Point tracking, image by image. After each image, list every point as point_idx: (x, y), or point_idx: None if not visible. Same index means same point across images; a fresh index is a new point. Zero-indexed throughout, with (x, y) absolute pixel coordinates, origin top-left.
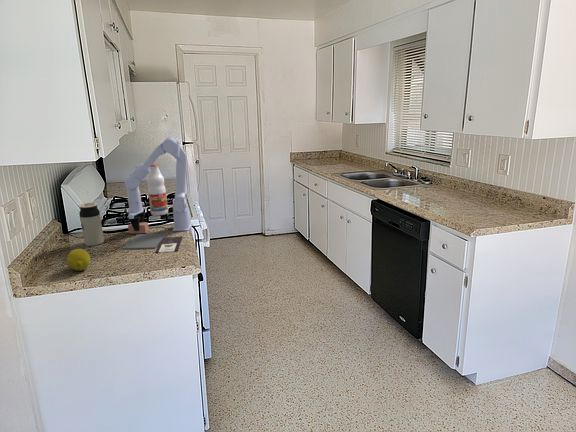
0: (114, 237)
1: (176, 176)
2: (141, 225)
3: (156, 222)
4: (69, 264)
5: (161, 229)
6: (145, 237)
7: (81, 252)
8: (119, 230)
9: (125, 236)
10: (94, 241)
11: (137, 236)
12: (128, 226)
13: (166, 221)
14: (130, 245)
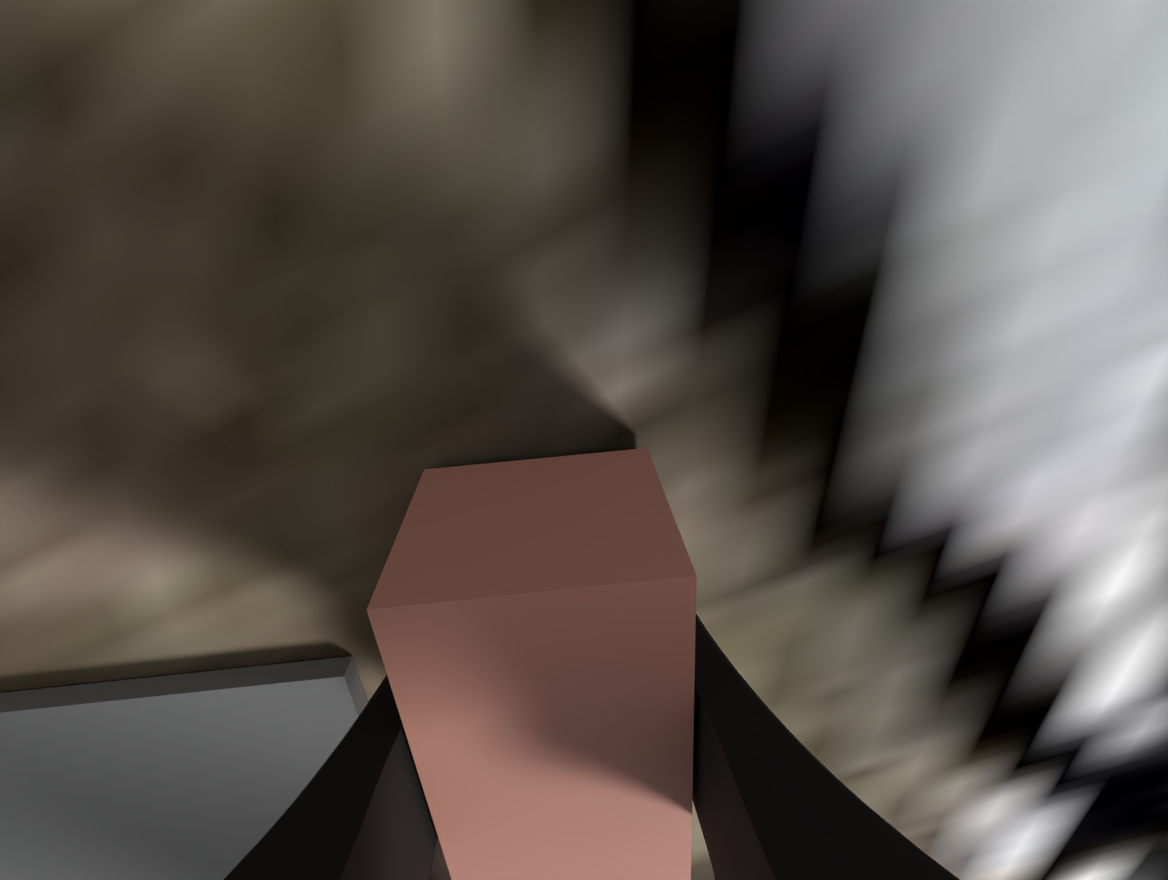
0: (88, 207)
1: None
2: (453, 868)
3: (1141, 642)
4: None
5: (697, 829)
6: (218, 840)
7: None
8: (733, 19)
9: (250, 460)
10: None
11: (228, 725)
12: (376, 602)
13: (1126, 753)
14: None
